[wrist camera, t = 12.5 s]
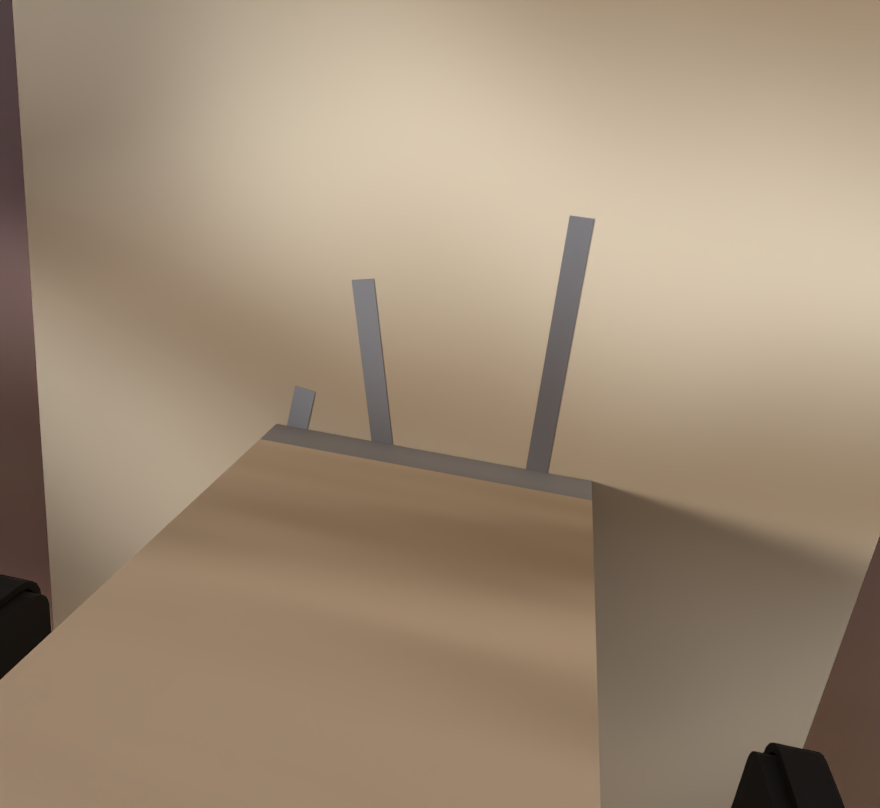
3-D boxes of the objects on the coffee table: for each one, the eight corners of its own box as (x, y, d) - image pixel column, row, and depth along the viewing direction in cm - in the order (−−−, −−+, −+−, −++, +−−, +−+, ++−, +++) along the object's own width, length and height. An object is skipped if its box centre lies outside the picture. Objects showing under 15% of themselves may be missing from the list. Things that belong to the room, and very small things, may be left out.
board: (51, -456, 9) (-24, -541, 8) (1160, -418, 8) (1260, -517, 6) (102, 735, 15) (63, 782, 14) (717, 883, 14) (730, 949, 13)
